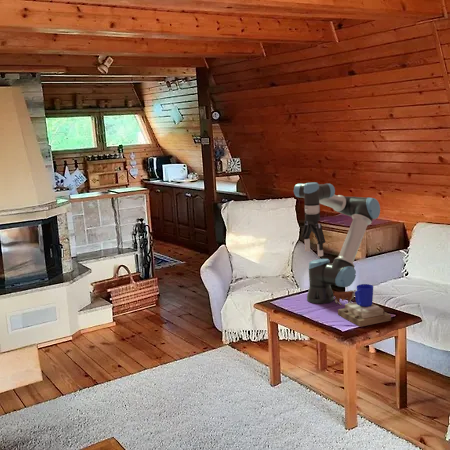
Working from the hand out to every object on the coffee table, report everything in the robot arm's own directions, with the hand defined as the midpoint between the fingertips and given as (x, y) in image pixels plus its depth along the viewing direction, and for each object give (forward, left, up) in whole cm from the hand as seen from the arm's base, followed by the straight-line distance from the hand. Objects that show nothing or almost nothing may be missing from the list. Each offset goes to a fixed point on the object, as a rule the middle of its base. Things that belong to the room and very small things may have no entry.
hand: (313, 253), depth 291 cm
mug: (+17, +18, -27) cm, 36 cm away
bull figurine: (-6, +22, -33) cm, 40 cm away
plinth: (+17, +18, -33) cm, 41 cm away
